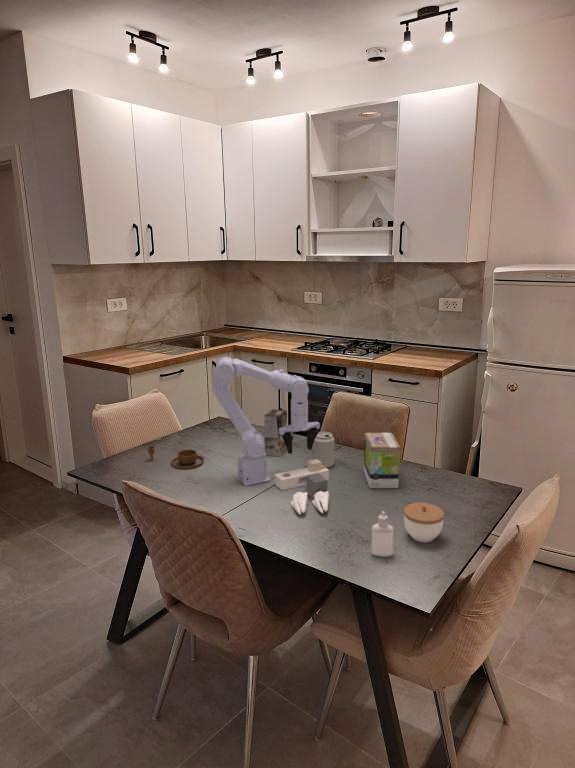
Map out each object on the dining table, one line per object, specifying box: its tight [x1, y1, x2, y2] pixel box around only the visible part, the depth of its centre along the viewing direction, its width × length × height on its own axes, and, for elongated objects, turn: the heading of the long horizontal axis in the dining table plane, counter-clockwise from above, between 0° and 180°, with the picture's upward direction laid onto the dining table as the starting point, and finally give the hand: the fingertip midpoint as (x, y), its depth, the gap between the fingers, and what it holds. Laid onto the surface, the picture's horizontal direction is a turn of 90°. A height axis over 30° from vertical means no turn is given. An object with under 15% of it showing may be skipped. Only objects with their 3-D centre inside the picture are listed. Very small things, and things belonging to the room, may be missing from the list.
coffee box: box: [263, 408, 288, 457], centre depth 215 cm, size 9×6×16 cm
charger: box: [304, 473, 329, 501], centre depth 179 cm, size 4×9×6 cm, turn 26°
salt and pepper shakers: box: [290, 490, 330, 515], centre depth 169 cm, size 12×4×11 cm
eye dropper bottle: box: [370, 511, 395, 558], centre depth 144 cm, size 4×6×12 cm
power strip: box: [274, 465, 330, 491], centre depth 189 cm, size 18×6×4 cm, turn 116°
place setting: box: [147, 445, 206, 470], centre depth 209 cm, size 18×20×6 cm
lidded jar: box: [403, 502, 445, 543], centre depth 152 cm, size 11×11×9 cm
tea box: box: [363, 432, 401, 489], centre depth 189 cm, size 15×10×15 cm
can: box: [313, 431, 335, 469], centre depth 202 cm, size 8×8×12 cm
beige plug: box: [306, 458, 321, 472], centre depth 190 cm, size 4×4×3 cm
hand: (299, 450), depth 190 cm, fingers open, 7 cm apart
